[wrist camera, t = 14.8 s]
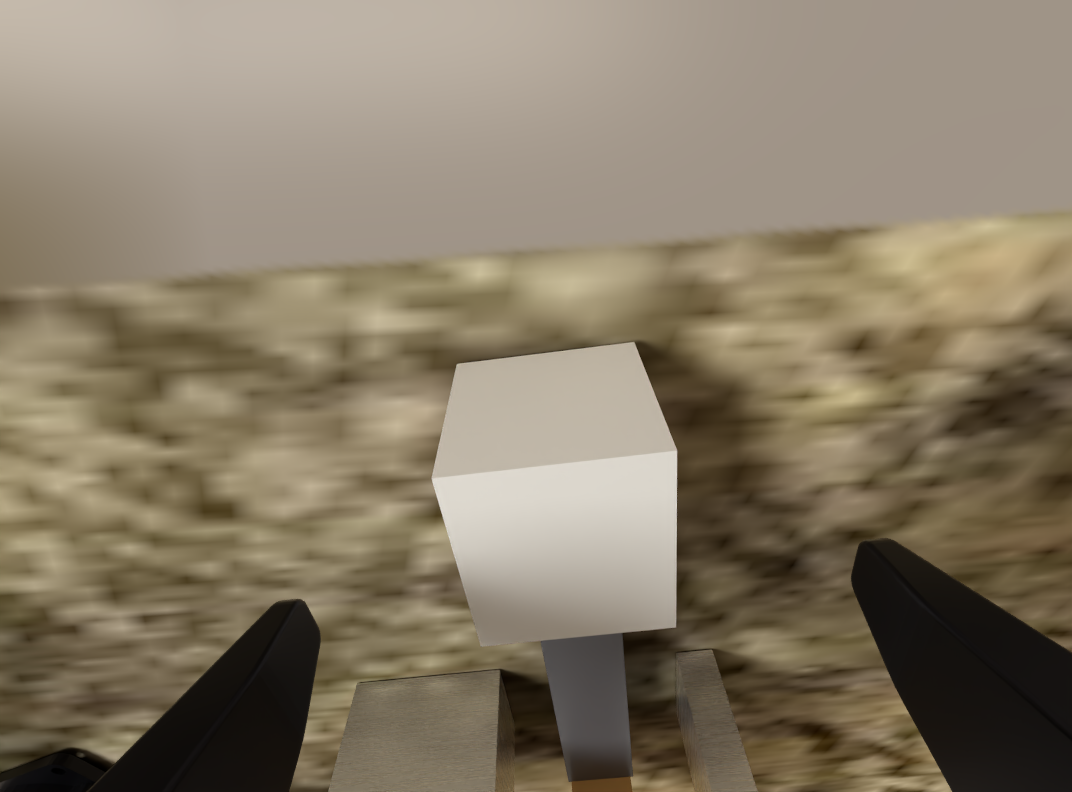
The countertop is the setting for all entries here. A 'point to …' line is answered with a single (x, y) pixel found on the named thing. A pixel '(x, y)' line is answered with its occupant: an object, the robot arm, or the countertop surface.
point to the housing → (507, 733)
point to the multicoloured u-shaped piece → (565, 528)
